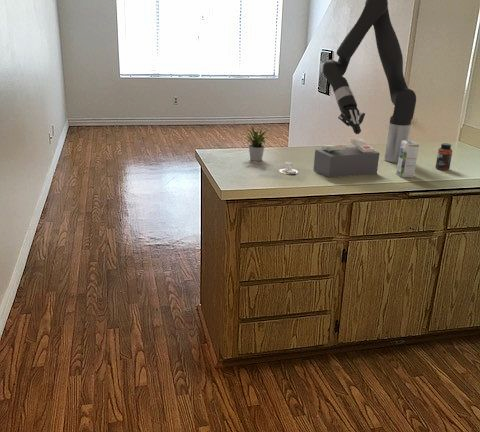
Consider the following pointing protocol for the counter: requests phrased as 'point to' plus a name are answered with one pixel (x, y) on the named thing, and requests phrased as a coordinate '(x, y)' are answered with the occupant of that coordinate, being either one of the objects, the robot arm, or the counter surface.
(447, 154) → the supplement bottle
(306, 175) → the counter surface
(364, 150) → the white flat box
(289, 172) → the teacup and saucer
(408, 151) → the syrup box
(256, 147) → the house plant
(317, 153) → the switch box
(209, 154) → the counter surface
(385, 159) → the robot arm
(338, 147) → the sage rocker
